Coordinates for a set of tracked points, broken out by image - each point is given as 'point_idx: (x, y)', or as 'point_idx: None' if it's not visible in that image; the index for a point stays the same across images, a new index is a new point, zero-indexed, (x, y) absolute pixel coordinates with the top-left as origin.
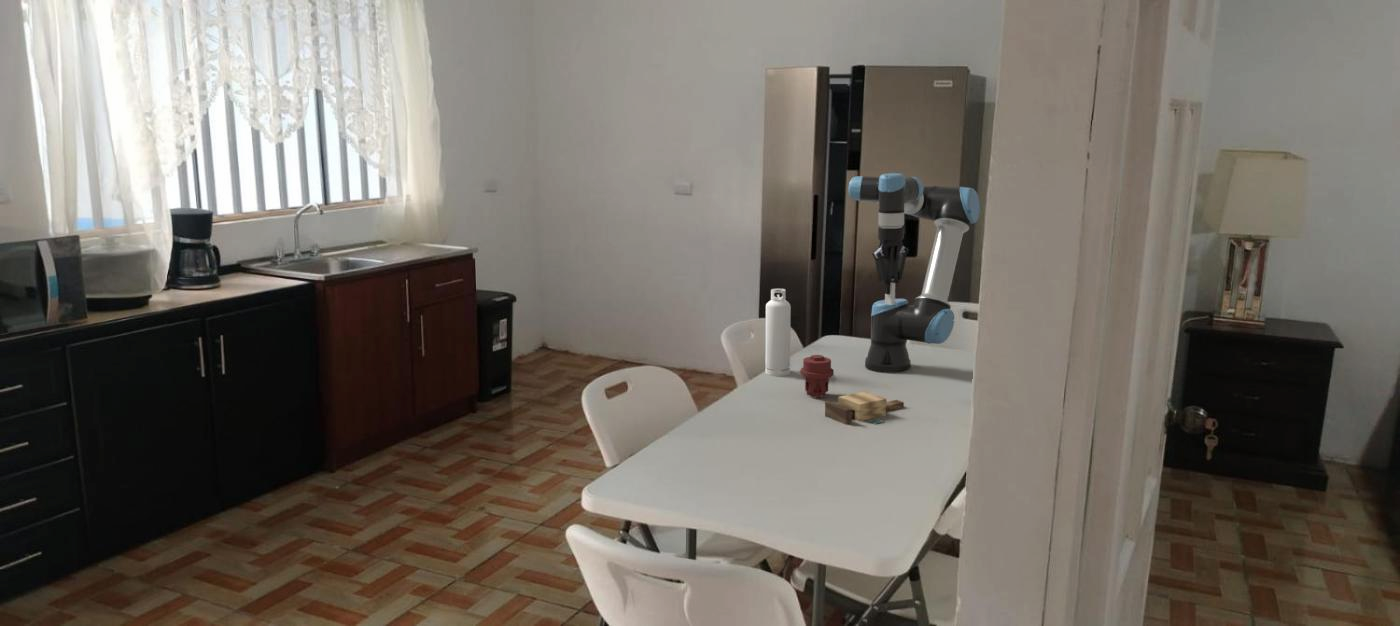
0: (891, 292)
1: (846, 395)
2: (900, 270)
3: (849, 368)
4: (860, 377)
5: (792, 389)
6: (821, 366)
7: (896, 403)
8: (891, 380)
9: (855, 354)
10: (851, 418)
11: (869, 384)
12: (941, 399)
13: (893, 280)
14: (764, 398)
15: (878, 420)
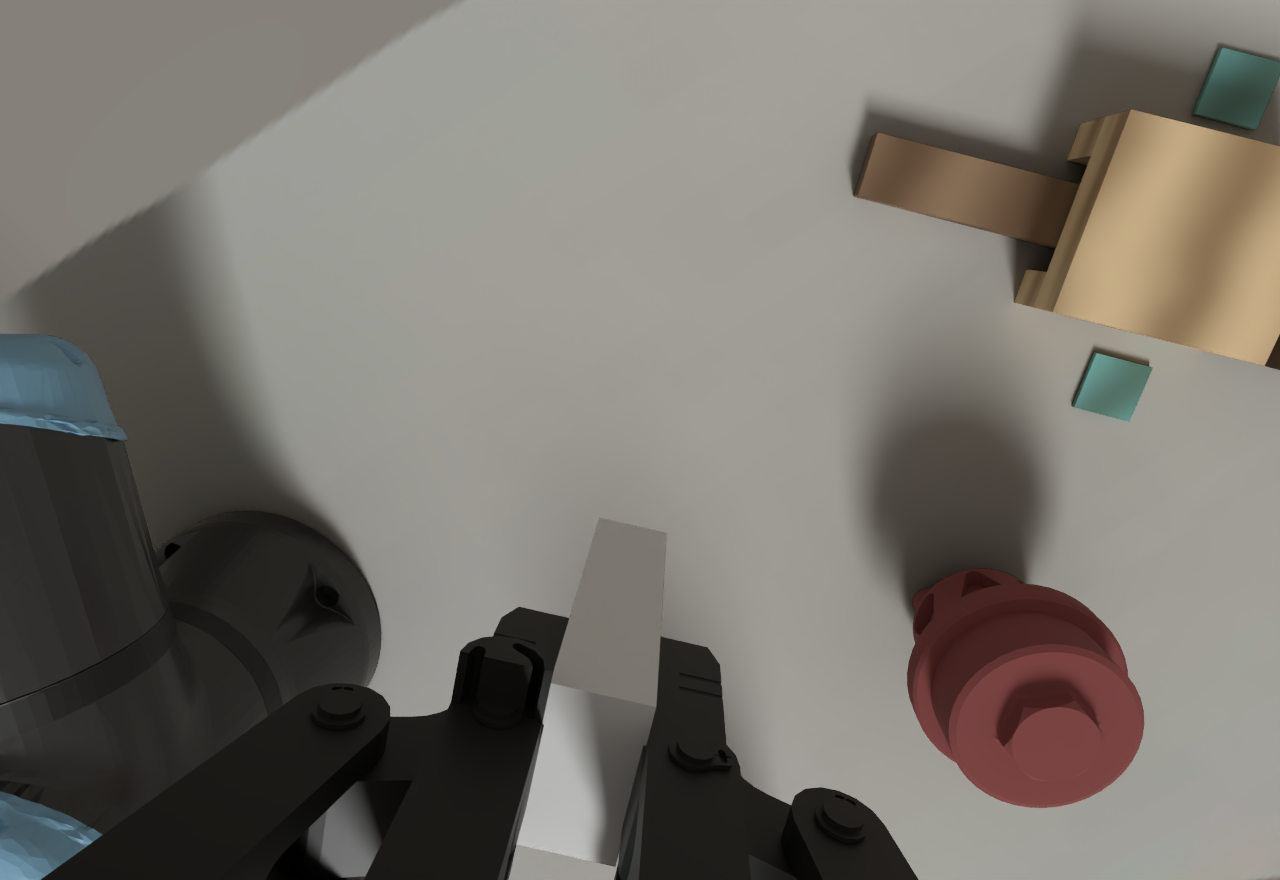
0: (661, 618)
1: (1208, 345)
2: (240, 859)
3: None
4: None
5: (944, 755)
6: (1102, 650)
7: (930, 150)
8: (457, 478)
9: None
10: None
11: None
12: (587, 54)
13: (531, 764)
14: (1174, 769)
15: (1227, 82)
